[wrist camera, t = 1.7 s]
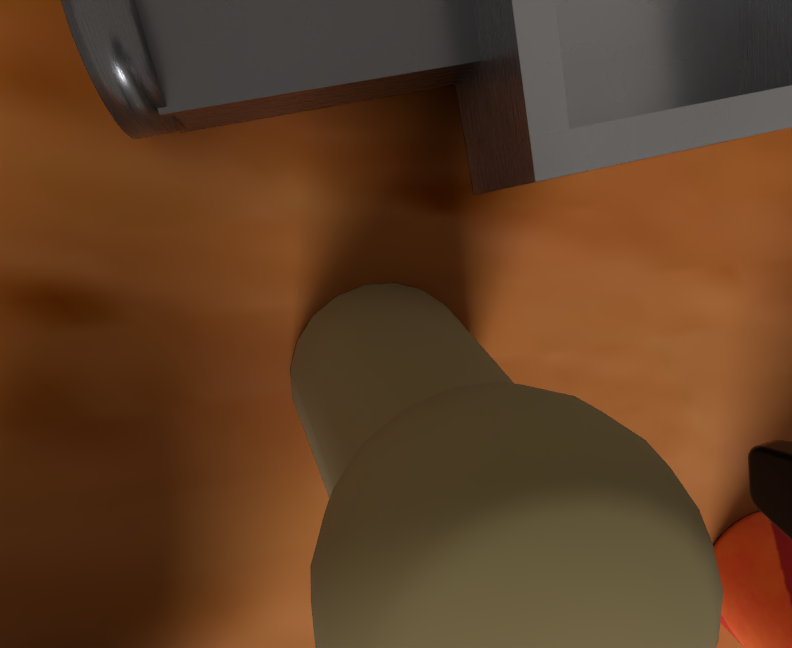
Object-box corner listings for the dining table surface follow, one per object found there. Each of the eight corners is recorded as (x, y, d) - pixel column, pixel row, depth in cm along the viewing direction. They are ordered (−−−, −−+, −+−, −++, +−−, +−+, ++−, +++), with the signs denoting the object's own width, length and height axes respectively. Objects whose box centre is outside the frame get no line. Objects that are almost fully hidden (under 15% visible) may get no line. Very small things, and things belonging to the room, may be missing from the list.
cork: (251, 347, 14) (111, 683, 4) (419, 246, 15) (730, 285, 4) (352, 492, 16) (459, 1020, 5) (501, 398, 16) (875, 708, 6)
